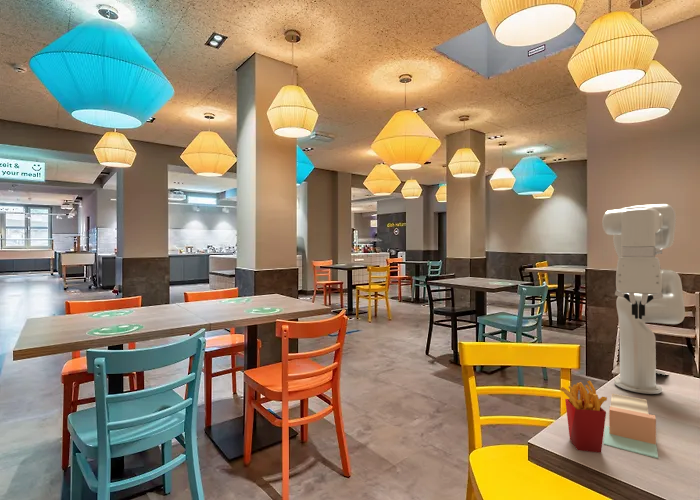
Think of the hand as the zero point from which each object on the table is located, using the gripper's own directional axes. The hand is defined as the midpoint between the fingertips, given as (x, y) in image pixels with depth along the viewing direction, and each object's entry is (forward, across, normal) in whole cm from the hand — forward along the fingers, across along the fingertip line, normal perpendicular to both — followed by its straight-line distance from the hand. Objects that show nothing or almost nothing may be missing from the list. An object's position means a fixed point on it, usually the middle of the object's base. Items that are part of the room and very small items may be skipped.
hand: (638, 317), depth 105 cm
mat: (+26, +2, +21) cm, 34 cm away
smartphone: (+28, -3, -35) cm, 45 cm away
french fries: (+26, +11, +30) cm, 41 cm away
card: (+23, +2, +18) cm, 29 cm away
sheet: (+27, +2, +8) cm, 28 cm away
